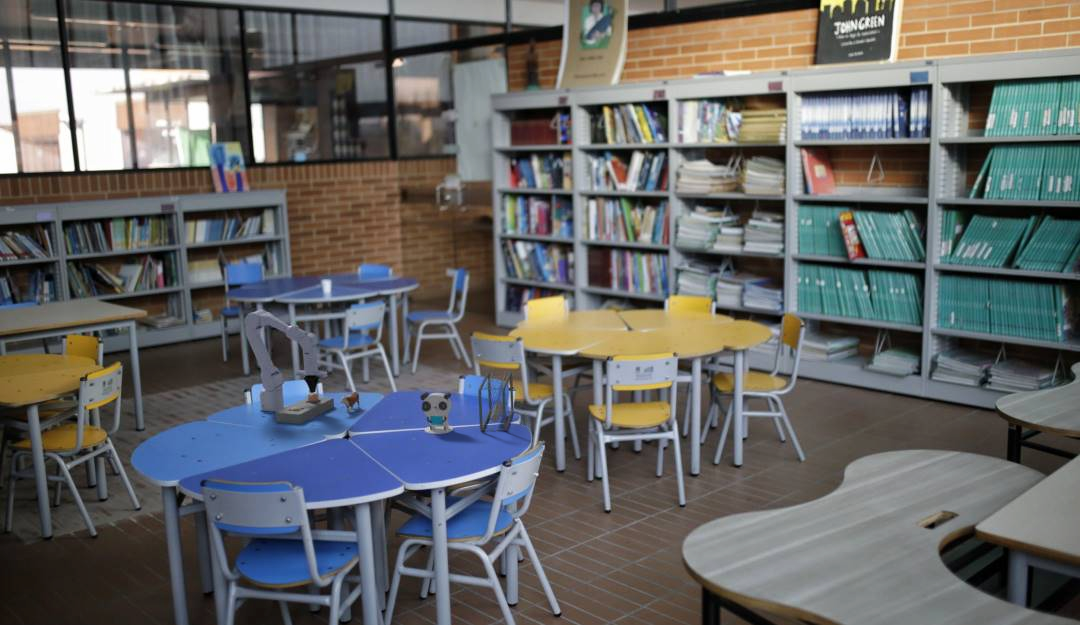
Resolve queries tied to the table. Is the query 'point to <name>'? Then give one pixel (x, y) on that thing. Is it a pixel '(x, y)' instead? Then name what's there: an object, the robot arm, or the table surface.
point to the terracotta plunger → (313, 398)
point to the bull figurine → (350, 400)
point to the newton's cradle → (498, 406)
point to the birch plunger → (296, 409)
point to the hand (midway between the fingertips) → (312, 392)
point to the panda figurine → (437, 412)
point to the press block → (304, 410)
